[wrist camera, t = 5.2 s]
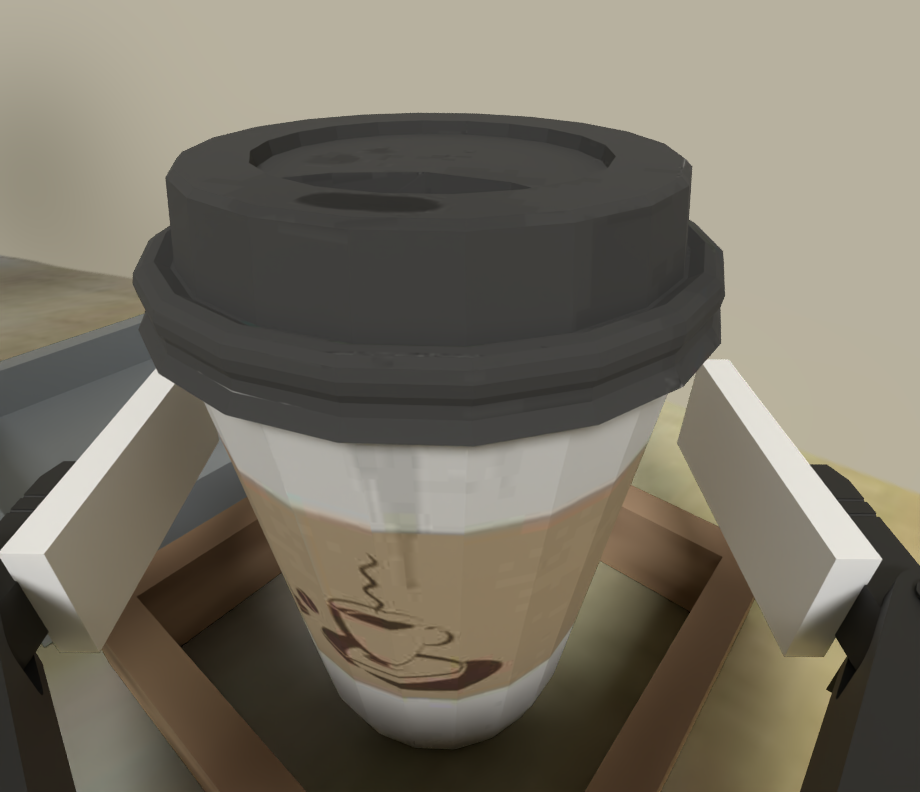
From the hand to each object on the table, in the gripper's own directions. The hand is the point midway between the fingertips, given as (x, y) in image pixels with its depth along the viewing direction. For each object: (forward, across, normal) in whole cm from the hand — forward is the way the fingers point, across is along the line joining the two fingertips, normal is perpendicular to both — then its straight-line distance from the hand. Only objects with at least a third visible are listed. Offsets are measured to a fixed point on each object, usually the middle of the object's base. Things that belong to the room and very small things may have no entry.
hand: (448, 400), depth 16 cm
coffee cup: (-1, 0, -9) cm, 9 cm away
